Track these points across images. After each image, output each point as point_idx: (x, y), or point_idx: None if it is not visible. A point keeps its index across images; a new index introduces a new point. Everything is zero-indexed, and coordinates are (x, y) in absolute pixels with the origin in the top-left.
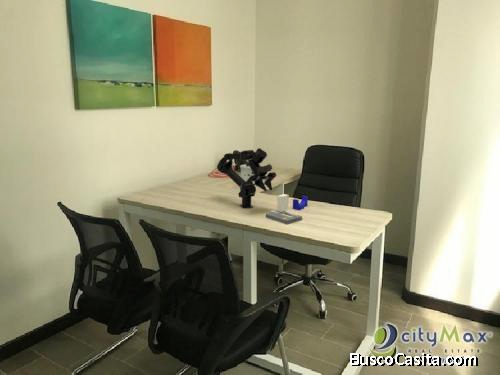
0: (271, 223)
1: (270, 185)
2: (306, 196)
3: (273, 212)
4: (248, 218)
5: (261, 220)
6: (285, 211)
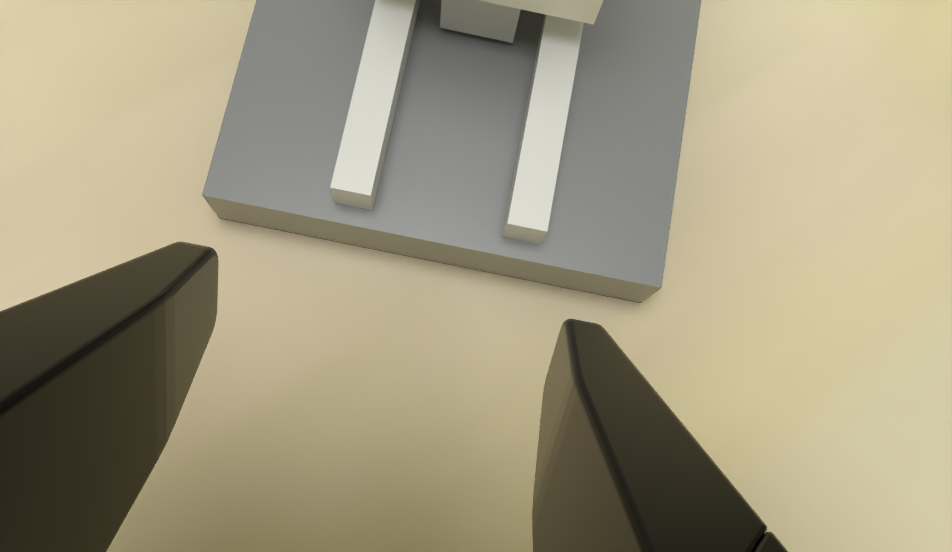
0: (847, 29)
1: (100, 331)
2: None
3: (560, 153)
4: (934, 515)
5: (845, 248)
6: (245, 64)
